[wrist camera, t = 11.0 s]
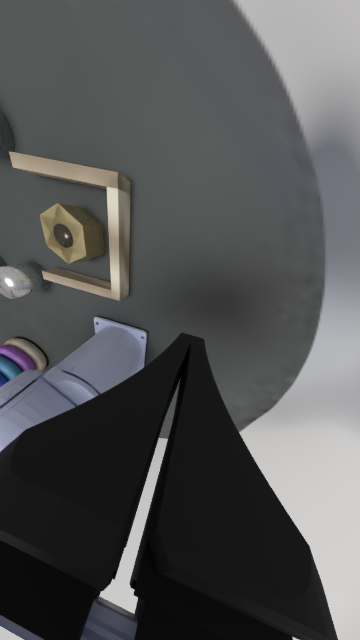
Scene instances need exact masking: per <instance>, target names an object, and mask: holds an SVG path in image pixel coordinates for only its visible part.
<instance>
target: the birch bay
mask: <svg viewBox="0 0 360 640" xmlns="http://www.w3.org/2000/svg"><path fill="white" fill-rule="evenodd" d="M9 154H10V158H11V162H12V165H13V168H17V169H20V170H23V171H26V172H29V173H32V174H35V175H39V176H44V177H48V178H53V179H58V180H63V181H68V182H72V183H77V184H82V185H87V186H92V187H96V188H101V189H106V190H107V204H108V226H109V248H110V269H111V282H107V281H104V280H100V279H96V278H93V277H89V276H85V275H82V274H78V273H75V272H71V271H67V270H64V269H60V268H53V269H48V270H43V271H42V274H43V277H44V279H45V280H49V281H52V282H56V283H59V284H63V285H66V286H70V287H73V288H77V289H80V290H84V291H87V292H91V293H94V294H98V295H101V296H105V297H108V298H111V299H115V300H118V301H120V300H122V299H123V298H125V297H127V296H128V295H129V252H130V191H131V180H129V179H128V178H126V177H124V176H123V175H121V174H119V173H118V172H113V171H108V170H102V169H97V168H92V167H87V166H82V165H77V164H71V163H66V162H61V161H56V160H51V159H46V158H41V157H35V156H30V155H25V154H20V153H15V152H10V151H9Z"/></svg>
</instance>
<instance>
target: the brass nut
mask: <svg viewBox="0 0 360 640" xmlns="http://www.w3.org/2000/svg"><path fill="white" fill-rule="evenodd" d="M40 219H41V223H42V227H43V232H44V236H45V240H46V244H47V246H48V247H49V248H50V249H52V250H53V251H54V252H55V253H56V254H57V255H59V256H60V257H61V258H62V259H63V260H65V261H66V262H67V263H68V264H71V263H76V262H81V261H87V260H90V259H93V258H95V257H97V256H100V255H102V254H104V253H106V251H105V234H104V227H103V226H102V225H101V224H100V223H99V222H98V221H97V220H96V219H95V218H94V217H93V216H92V215H91V214H90V213H88V212H87V211H86V210H85V209H84V208H81V207H76V206H71V205H66V204H61V203H57V204H55V205H54V206H52V207H51V208H49V209H48V210H47V211H45V212H44V213H42V214H41V215H40Z"/></svg>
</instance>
